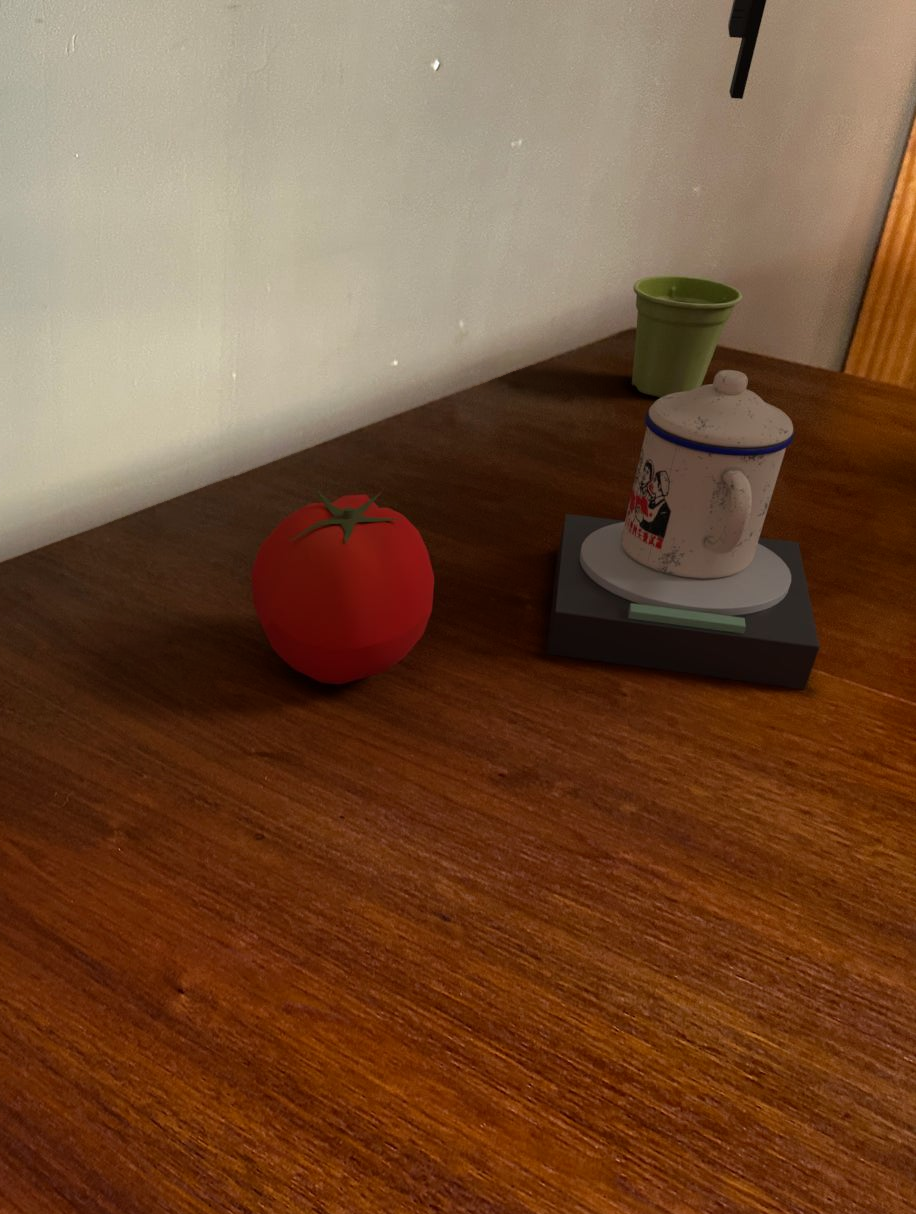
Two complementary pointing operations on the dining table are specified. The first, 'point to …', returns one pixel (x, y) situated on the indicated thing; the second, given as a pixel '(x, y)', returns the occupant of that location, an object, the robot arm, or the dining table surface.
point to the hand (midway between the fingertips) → (838, 103)
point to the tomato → (343, 588)
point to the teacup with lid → (705, 479)
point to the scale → (681, 611)
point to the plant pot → (678, 331)
